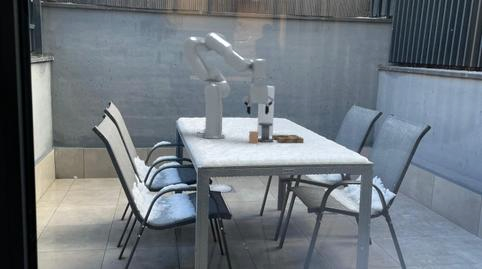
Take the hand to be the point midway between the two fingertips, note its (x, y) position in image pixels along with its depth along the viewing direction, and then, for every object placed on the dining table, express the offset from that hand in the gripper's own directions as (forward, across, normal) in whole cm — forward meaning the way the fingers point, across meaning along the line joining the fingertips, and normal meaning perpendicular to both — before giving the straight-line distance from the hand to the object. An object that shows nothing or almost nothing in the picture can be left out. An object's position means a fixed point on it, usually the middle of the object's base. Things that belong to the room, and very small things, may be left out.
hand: (257, 114), depth 247 cm
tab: (+16, -2, -1) cm, 16 cm away
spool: (+16, +6, +4) cm, 17 cm away
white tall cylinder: (+16, +11, +27) cm, 33 cm away
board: (+16, +19, +4) cm, 25 cm away
